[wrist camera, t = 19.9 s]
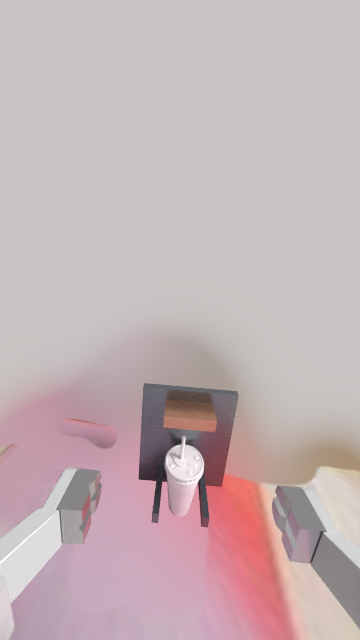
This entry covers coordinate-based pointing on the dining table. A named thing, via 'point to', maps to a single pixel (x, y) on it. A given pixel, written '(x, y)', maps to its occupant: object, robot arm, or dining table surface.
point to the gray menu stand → (185, 434)
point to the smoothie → (182, 476)
